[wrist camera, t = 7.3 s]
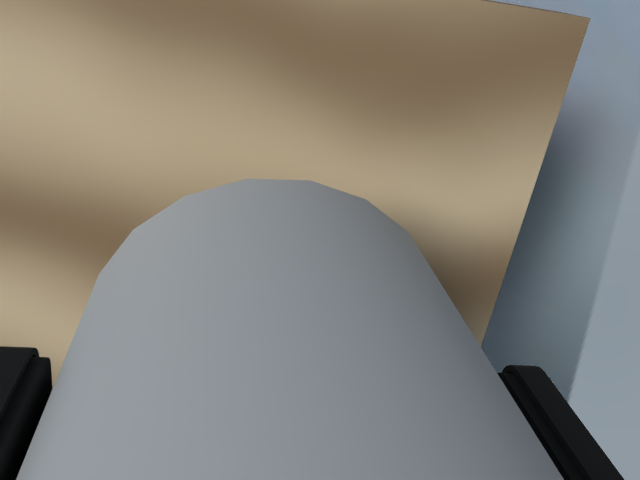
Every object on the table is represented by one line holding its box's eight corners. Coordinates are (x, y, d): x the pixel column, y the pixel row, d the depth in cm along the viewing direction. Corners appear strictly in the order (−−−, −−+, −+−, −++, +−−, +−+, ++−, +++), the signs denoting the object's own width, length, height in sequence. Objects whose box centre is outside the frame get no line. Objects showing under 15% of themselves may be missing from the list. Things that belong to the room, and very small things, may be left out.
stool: (50, -77, 18) (-66, -90, 11) (467, -7, 21) (590, 18, 14) (66, 302, 24) (-2, 450, 17) (388, 318, 27) (445, 453, 20)
